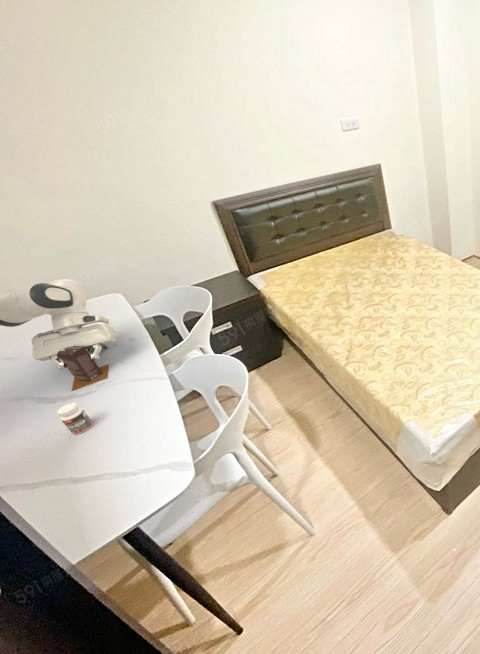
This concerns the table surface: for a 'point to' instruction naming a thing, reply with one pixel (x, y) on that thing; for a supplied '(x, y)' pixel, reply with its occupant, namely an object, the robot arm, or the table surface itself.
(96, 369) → the box
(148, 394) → the table surface
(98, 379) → the coaster
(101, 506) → the table surface
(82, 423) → the pill bottle
